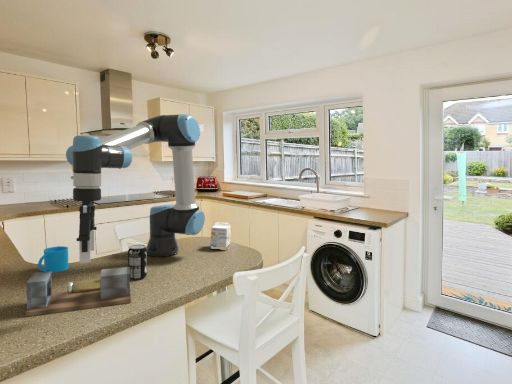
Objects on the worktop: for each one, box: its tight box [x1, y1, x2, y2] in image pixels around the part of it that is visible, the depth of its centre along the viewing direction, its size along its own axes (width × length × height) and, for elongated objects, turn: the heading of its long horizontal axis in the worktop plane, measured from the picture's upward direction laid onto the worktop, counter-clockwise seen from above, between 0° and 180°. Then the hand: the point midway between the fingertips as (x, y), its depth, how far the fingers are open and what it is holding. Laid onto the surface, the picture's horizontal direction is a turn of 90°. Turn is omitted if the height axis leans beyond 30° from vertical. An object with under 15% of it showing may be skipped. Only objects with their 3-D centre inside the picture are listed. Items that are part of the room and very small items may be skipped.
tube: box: [66, 278, 101, 294], centre depth 99 cm, size 16×4×4 cm, turn 113°
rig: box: [25, 266, 132, 318], centre depth 97 cm, size 27×12×9 cm, turn 113°
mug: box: [37, 245, 69, 273], centre depth 123 cm, size 12×8×8 cm
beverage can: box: [127, 244, 148, 281], centre depth 118 cm, size 7×7×12 cm
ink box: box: [210, 221, 232, 247], centre depth 163 cm, size 9×8×13 cm
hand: (87, 256), depth 97 cm, fingers open, 13 cm apart
